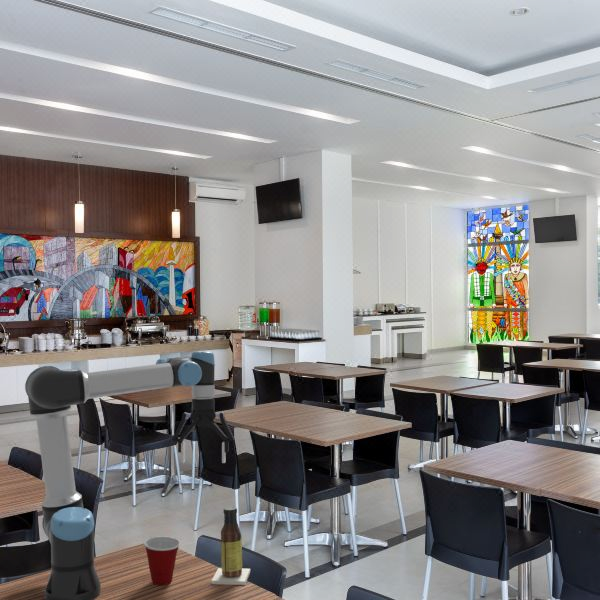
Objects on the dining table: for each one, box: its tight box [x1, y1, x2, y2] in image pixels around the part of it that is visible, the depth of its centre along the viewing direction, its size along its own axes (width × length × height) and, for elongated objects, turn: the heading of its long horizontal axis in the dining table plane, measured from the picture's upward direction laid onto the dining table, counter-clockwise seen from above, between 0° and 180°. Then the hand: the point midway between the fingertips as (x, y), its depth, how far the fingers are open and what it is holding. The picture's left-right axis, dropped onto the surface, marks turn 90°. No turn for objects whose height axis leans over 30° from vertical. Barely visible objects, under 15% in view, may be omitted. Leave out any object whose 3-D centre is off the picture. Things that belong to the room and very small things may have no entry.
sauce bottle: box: [220, 506, 243, 577], centre depth 210 cm, size 7×6×20 cm
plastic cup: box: [143, 535, 181, 586], centre depth 207 cm, size 11×11×12 cm
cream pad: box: [210, 567, 251, 586], centre depth 209 cm, size 10×10×1 cm
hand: (203, 462), depth 229 cm, fingers open, 13 cm apart
